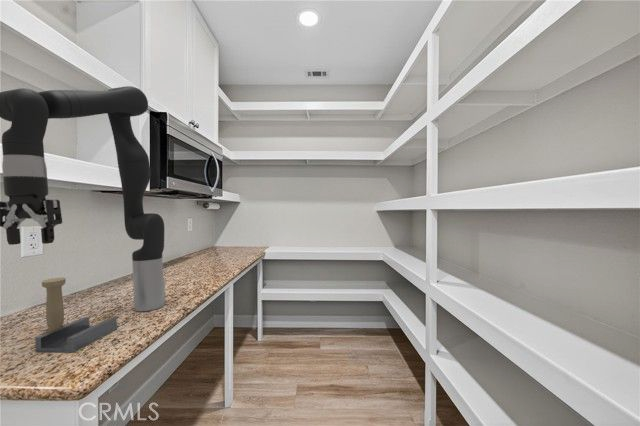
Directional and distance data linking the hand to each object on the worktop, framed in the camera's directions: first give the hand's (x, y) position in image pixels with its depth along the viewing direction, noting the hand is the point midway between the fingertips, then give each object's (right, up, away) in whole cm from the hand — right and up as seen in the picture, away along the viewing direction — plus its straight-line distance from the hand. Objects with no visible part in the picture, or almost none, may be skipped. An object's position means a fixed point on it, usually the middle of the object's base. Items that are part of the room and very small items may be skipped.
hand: (31, 243), depth 72 cm
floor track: (+5, -27, +8) cm, 28 cm away
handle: (-7, -27, +14) cm, 31 cm away
